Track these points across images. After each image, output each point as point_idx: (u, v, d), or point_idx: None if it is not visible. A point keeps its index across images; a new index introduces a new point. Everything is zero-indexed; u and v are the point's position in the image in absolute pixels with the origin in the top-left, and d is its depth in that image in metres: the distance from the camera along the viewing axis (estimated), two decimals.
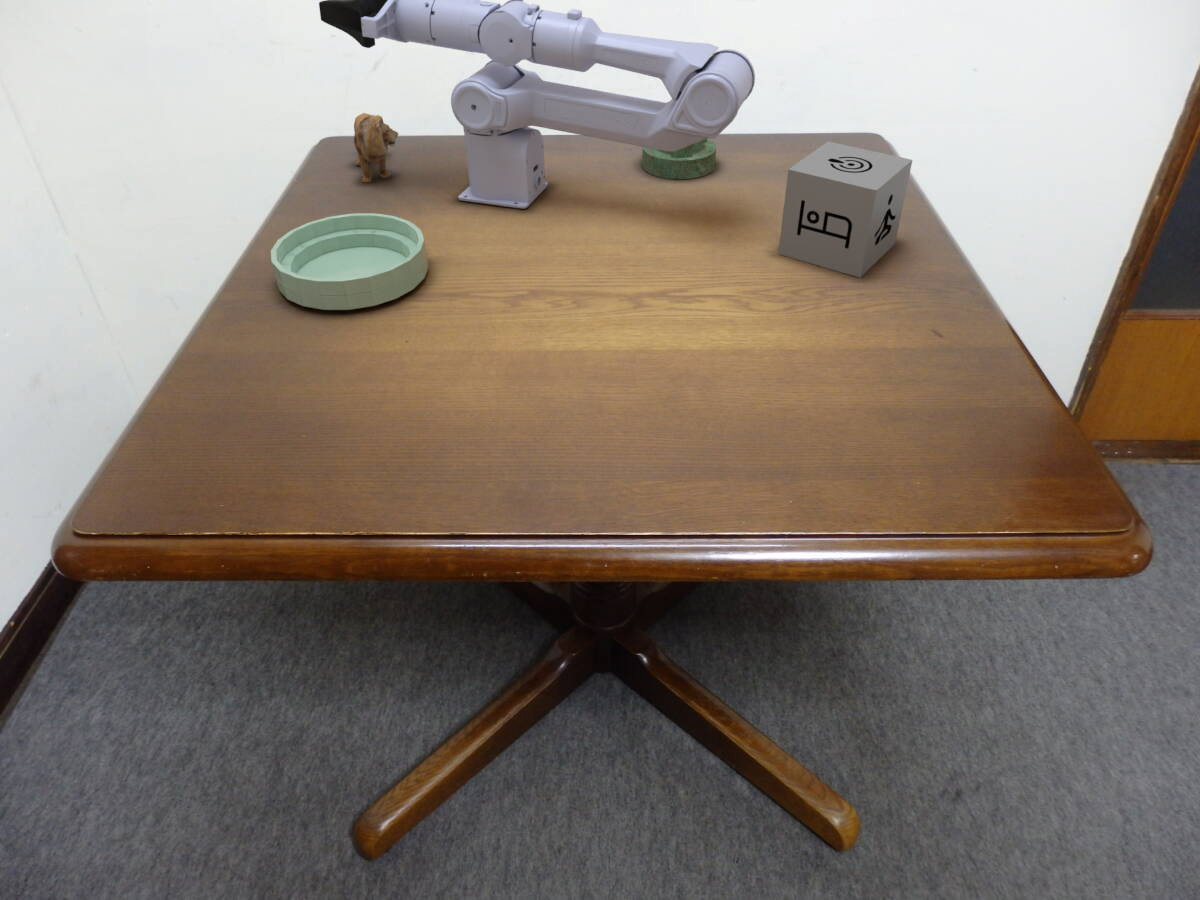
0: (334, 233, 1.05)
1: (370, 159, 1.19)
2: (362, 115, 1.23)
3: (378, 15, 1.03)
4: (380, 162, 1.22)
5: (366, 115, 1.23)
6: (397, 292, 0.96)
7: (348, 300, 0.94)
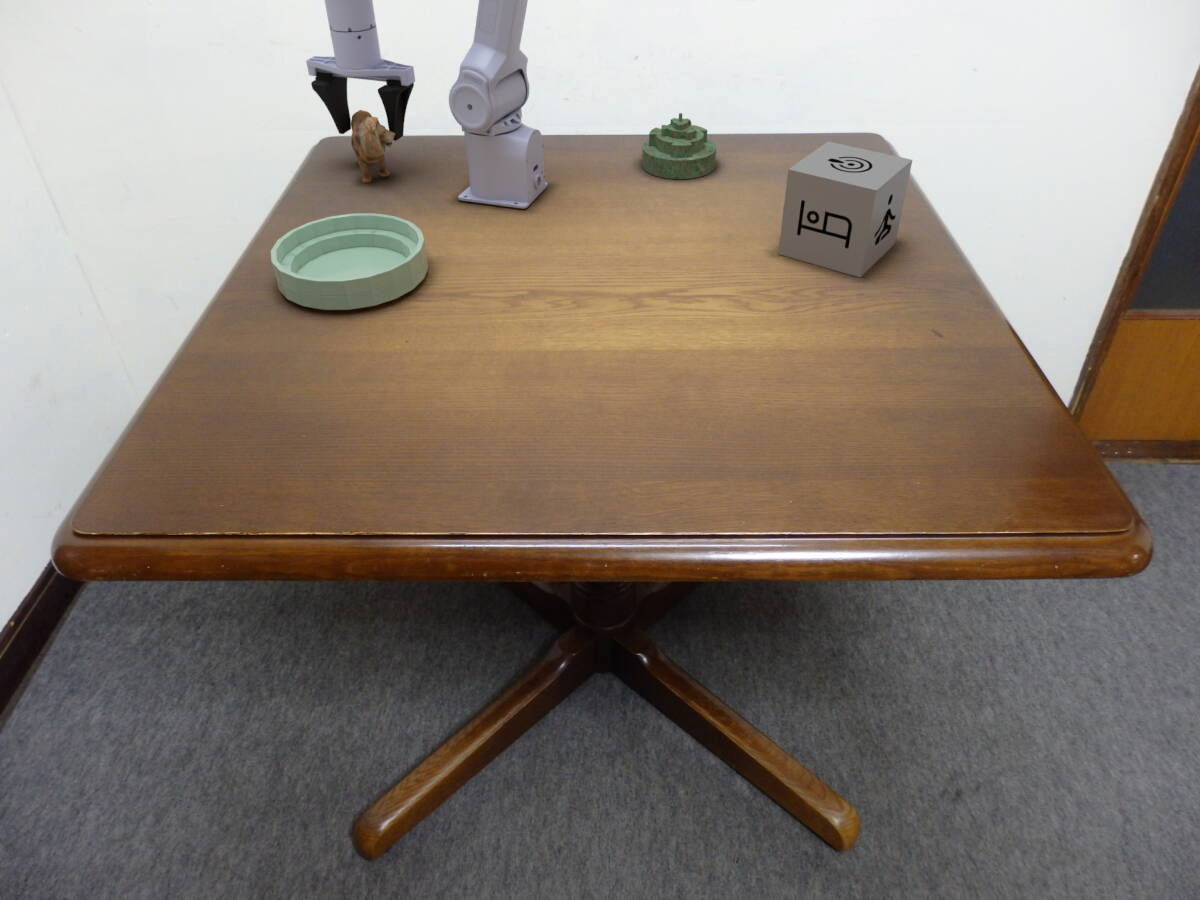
0: (334, 233, 1.05)
1: (368, 161, 1.19)
2: (358, 113, 1.22)
3: None
4: (379, 161, 1.22)
5: (362, 113, 1.22)
6: (397, 292, 0.96)
7: (348, 300, 0.94)
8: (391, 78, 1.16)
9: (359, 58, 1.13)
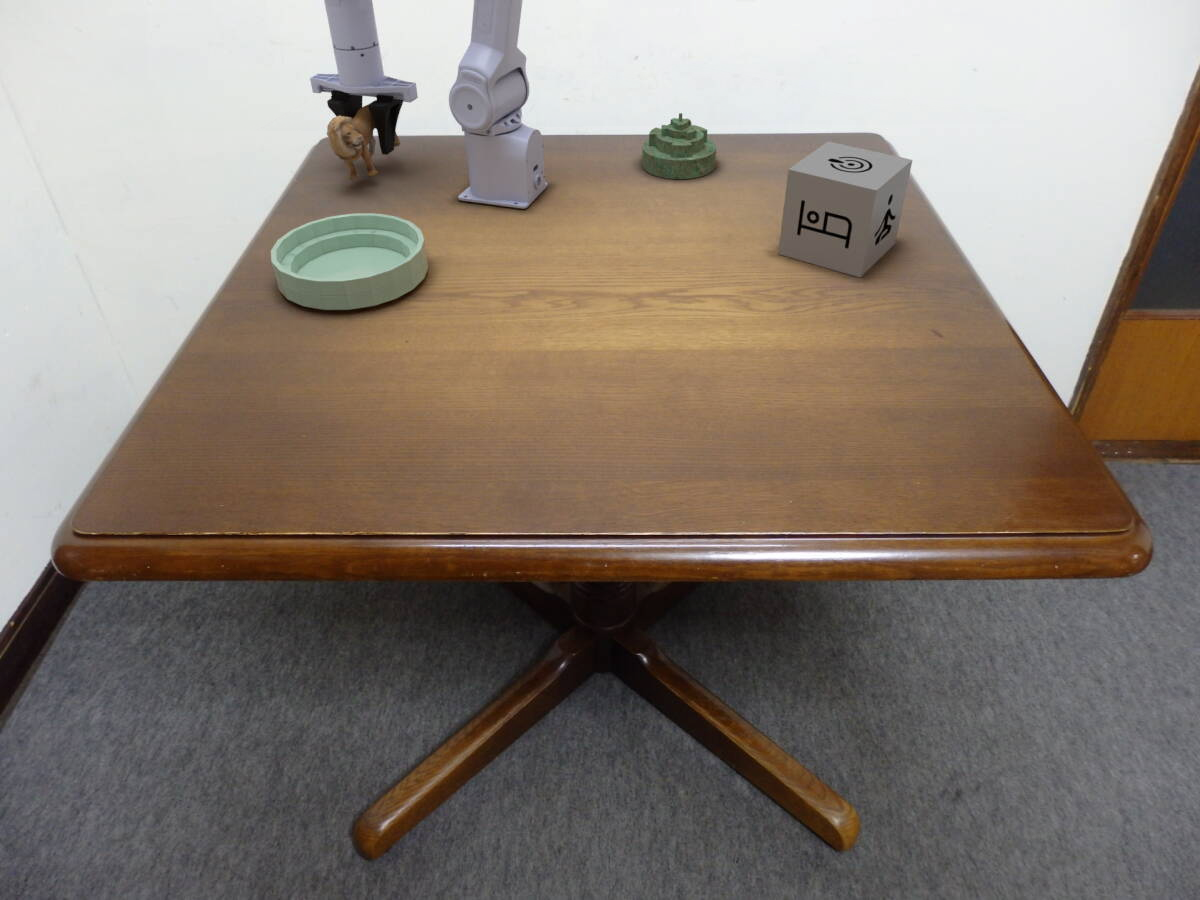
0: (334, 233, 1.05)
1: (343, 159, 1.17)
2: (362, 108, 1.20)
3: (328, 77, 1.20)
4: (364, 160, 1.19)
5: (366, 108, 1.20)
6: (397, 292, 0.96)
7: (348, 300, 0.94)
8: (394, 95, 1.17)
9: (362, 75, 1.15)
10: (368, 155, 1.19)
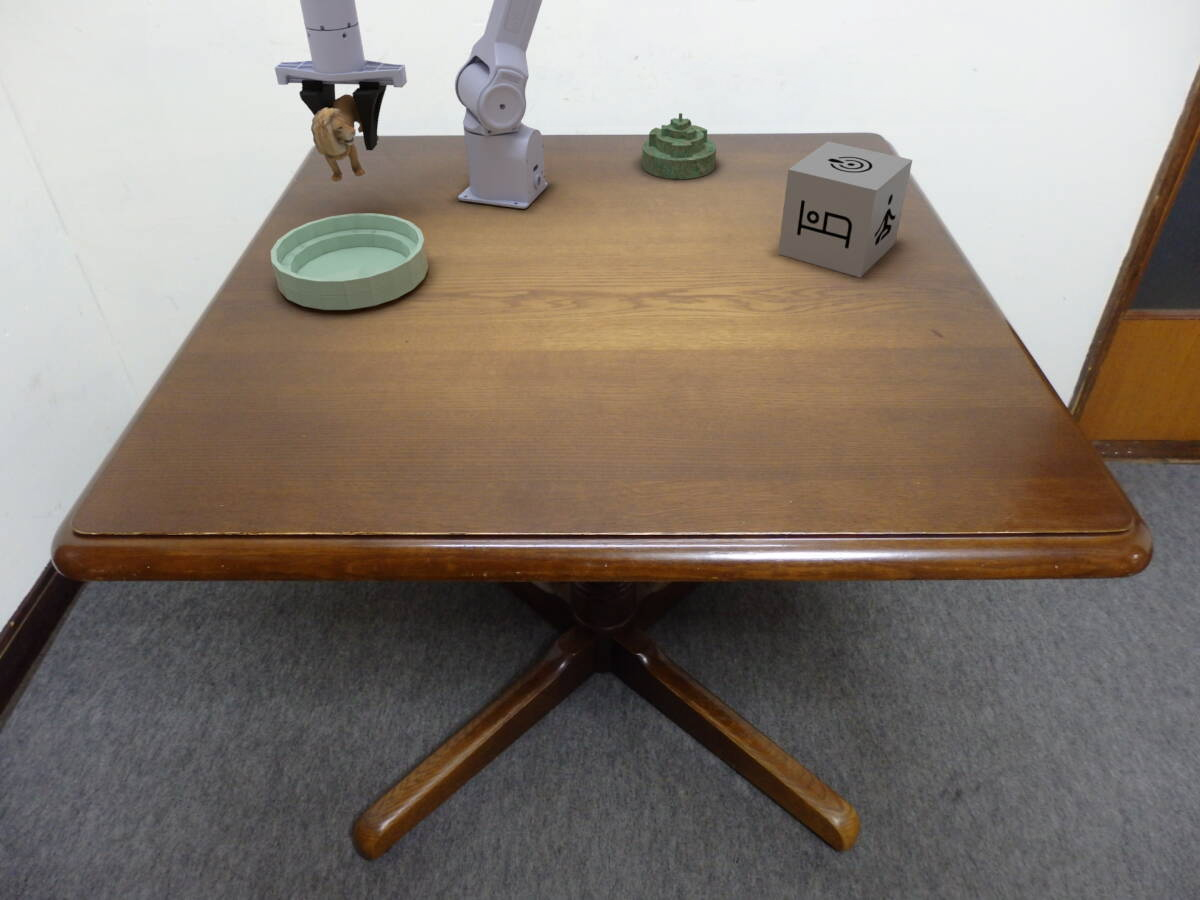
0: (334, 233, 1.05)
1: (329, 158, 1.01)
2: (340, 98, 1.05)
3: None
4: (350, 158, 1.04)
5: (344, 98, 1.05)
6: (397, 292, 0.96)
7: (348, 300, 0.94)
8: (380, 80, 1.02)
9: (345, 59, 0.99)
10: (355, 152, 1.04)
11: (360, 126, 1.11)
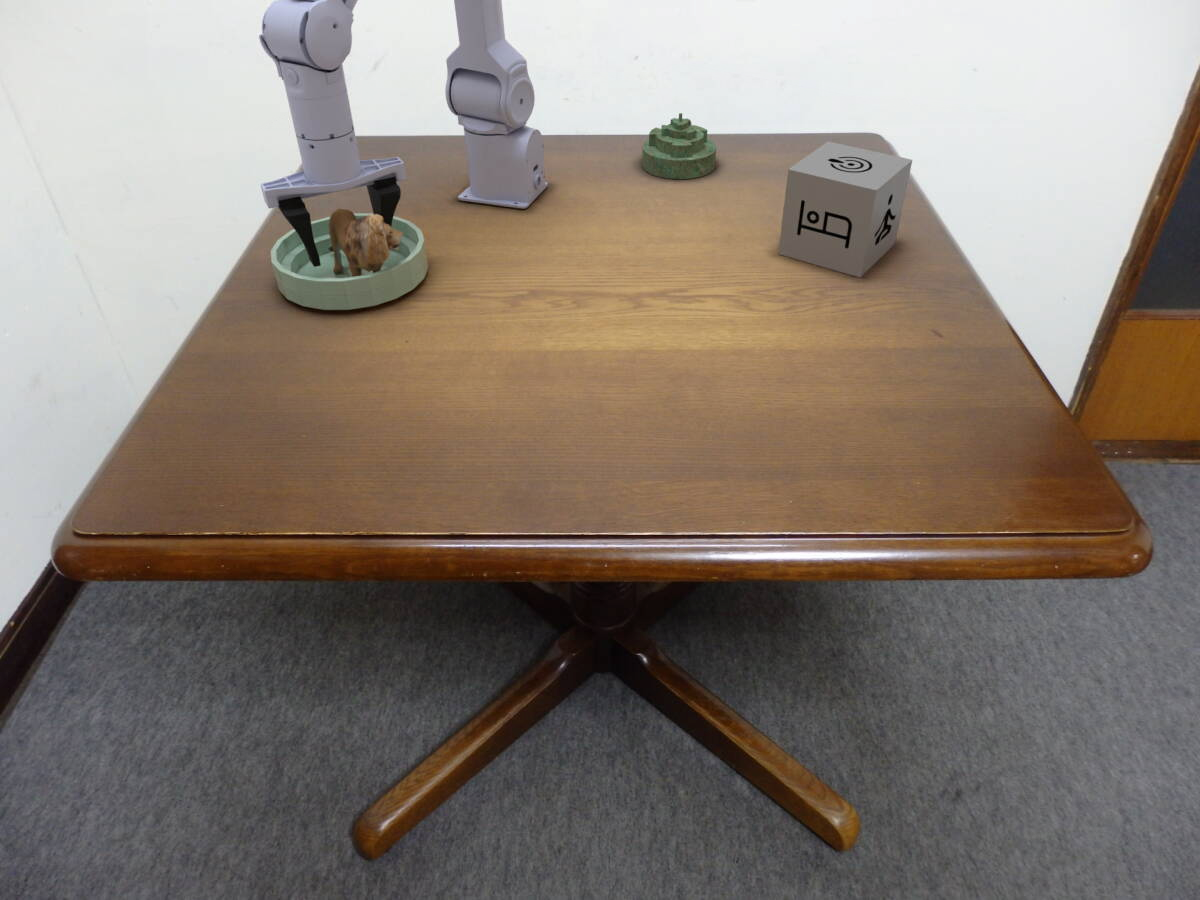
0: None
1: (369, 269, 0.94)
2: (340, 212, 0.97)
3: None
4: None
5: (345, 211, 0.98)
6: (397, 292, 0.96)
7: (348, 300, 0.94)
8: (379, 178, 0.96)
9: (353, 164, 0.92)
10: None
11: None
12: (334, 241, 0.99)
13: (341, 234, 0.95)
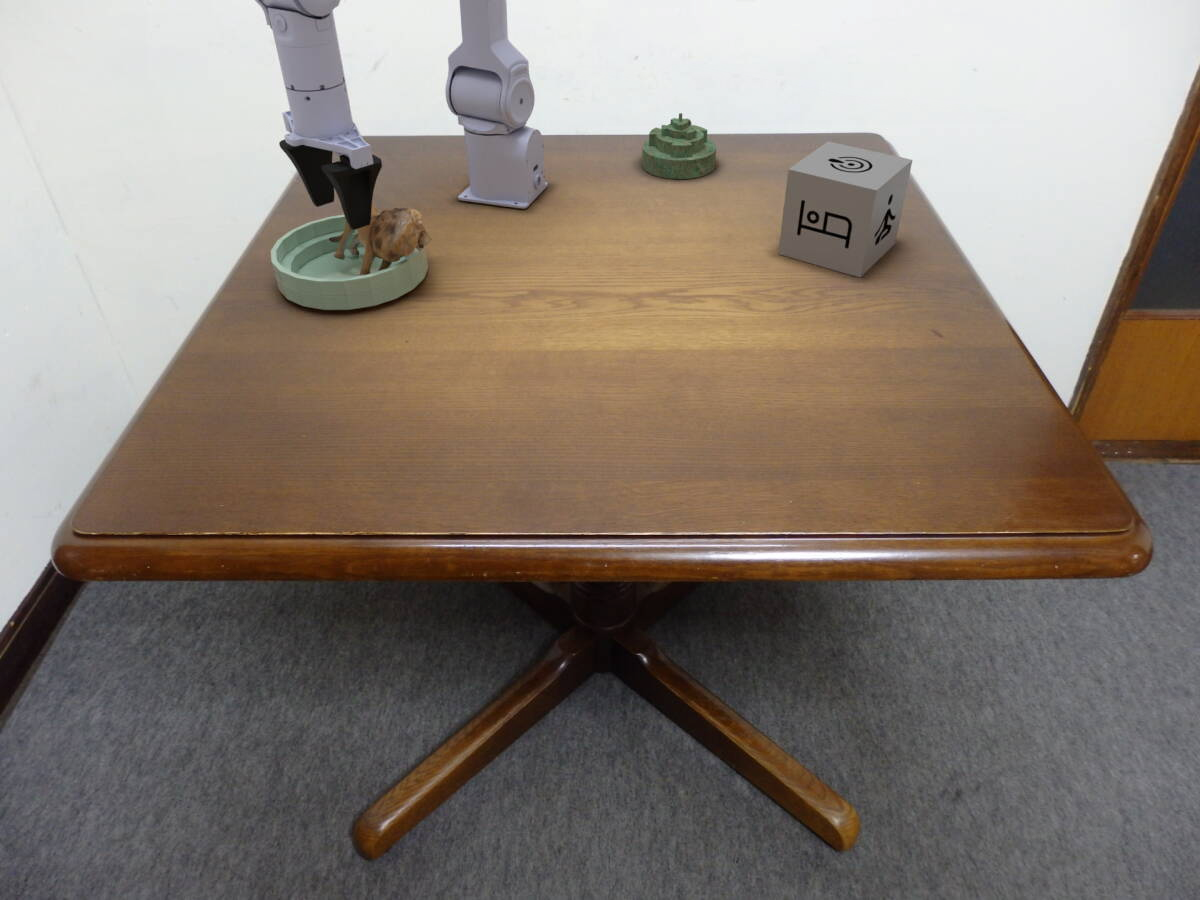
0: (334, 233, 1.05)
1: (387, 257, 0.94)
2: None
3: (344, 150, 0.87)
4: (385, 264, 0.97)
5: (372, 205, 0.99)
6: (397, 292, 0.96)
7: (348, 300, 0.94)
8: None
9: None
10: None
11: (343, 236, 1.03)
12: None
13: None
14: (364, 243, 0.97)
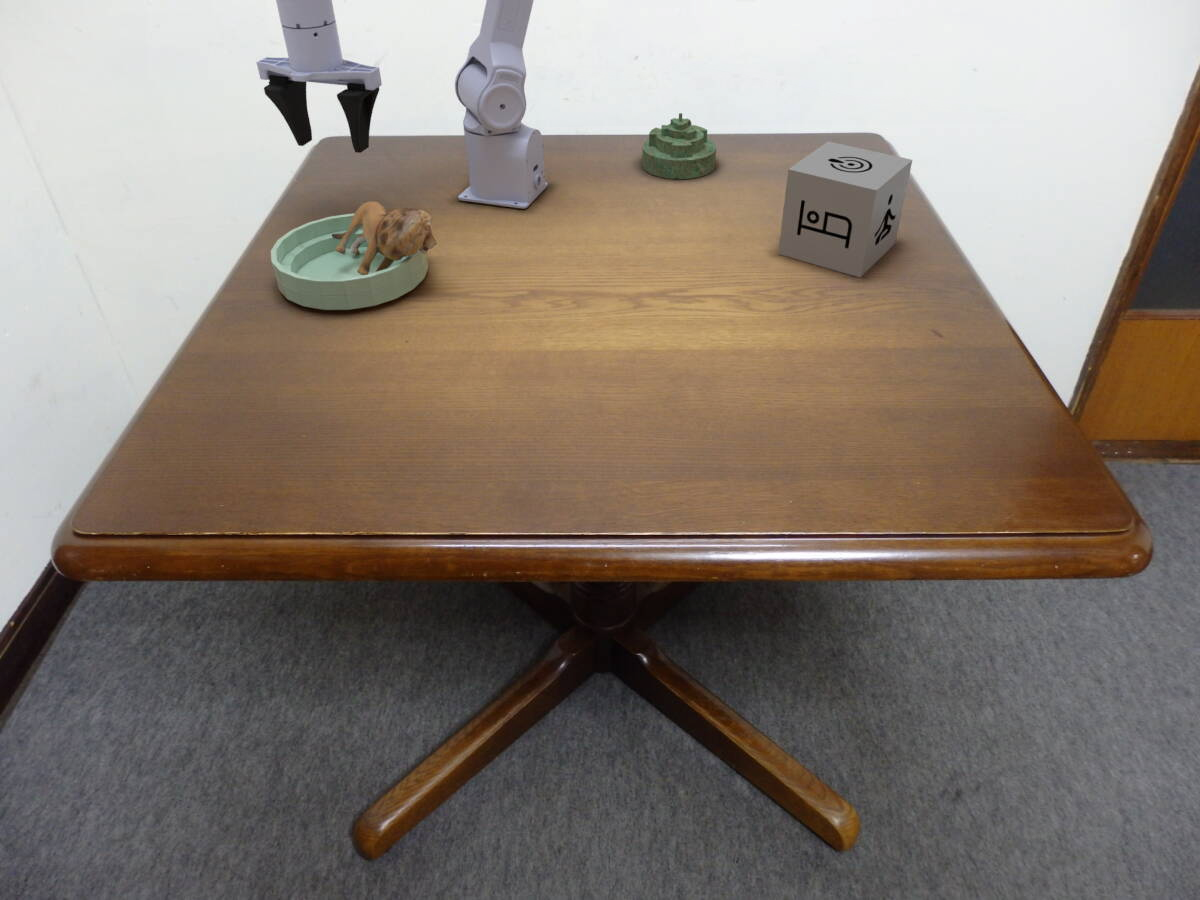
0: (334, 233, 1.05)
1: (390, 253, 0.94)
2: (378, 203, 0.99)
3: (358, 76, 0.99)
4: (386, 262, 0.97)
5: (382, 206, 1.00)
6: (397, 292, 0.96)
7: (348, 300, 0.94)
8: None
9: None
10: (393, 259, 0.98)
11: None
12: (356, 223, 0.99)
13: (376, 216, 0.97)
14: (368, 239, 0.97)
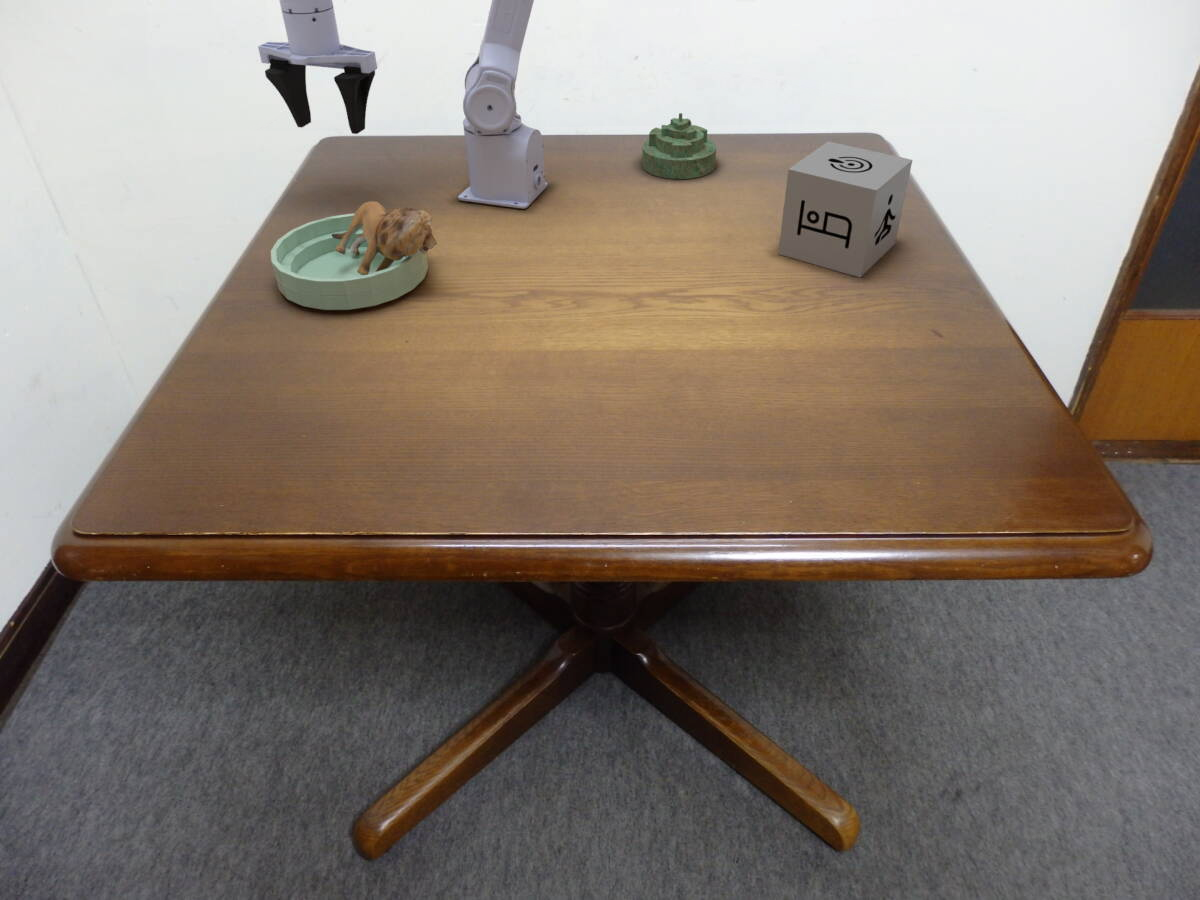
0: (334, 233, 1.05)
1: (390, 253, 0.94)
2: (378, 203, 0.99)
3: (355, 59, 1.04)
4: (386, 262, 0.97)
5: (382, 206, 1.00)
6: (397, 292, 0.96)
7: (348, 300, 0.94)
8: None
9: None
10: (393, 259, 0.98)
11: None
12: (356, 223, 0.99)
13: (376, 216, 0.97)
14: (368, 239, 0.97)
